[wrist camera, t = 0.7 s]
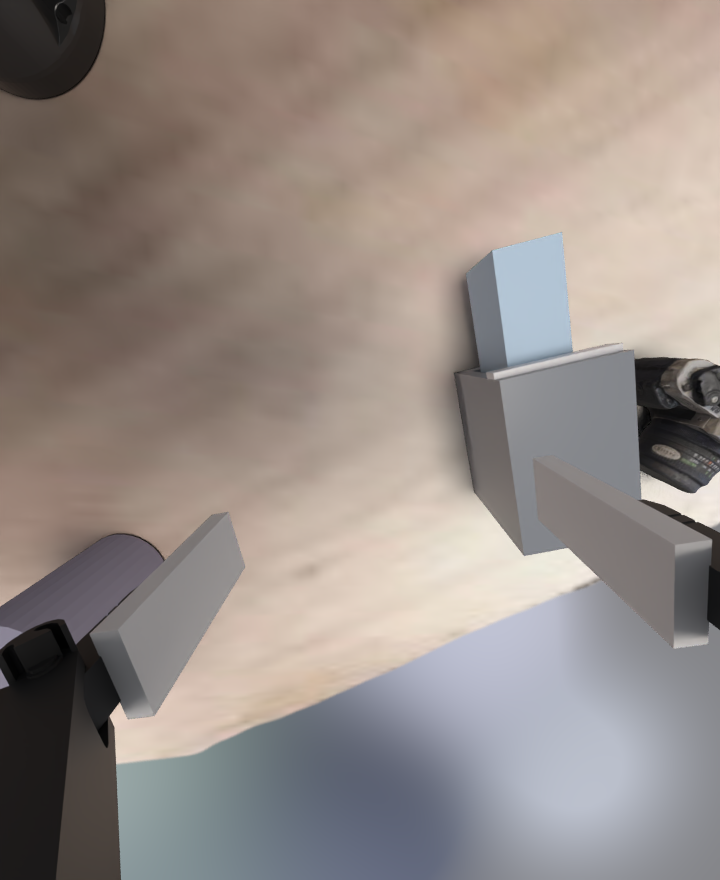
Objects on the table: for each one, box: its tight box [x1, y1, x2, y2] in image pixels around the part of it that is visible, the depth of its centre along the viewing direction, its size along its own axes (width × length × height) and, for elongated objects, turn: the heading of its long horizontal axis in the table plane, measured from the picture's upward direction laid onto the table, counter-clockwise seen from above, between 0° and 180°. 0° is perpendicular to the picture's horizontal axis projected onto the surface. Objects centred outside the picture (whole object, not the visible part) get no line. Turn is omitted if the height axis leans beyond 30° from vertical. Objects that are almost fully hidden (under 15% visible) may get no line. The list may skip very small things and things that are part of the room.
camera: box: [634, 357, 720, 493], centre depth 32 cm, size 16×10×10 cm, turn 60°
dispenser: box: [454, 343, 641, 556], centre depth 31 cm, size 14×9×13 cm, turn 13°
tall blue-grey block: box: [466, 232, 573, 373], centre depth 30 cm, size 18×5×7 cm, turn 13°
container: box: [0, 534, 164, 689], centre depth 36 cm, size 10×10×15 cm
